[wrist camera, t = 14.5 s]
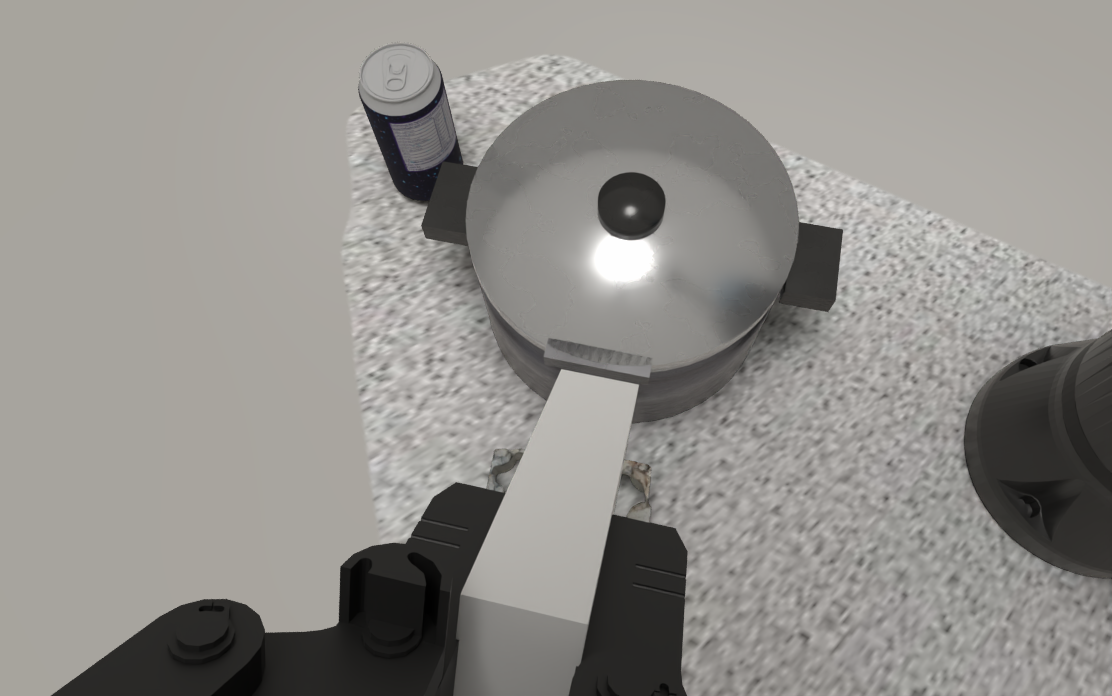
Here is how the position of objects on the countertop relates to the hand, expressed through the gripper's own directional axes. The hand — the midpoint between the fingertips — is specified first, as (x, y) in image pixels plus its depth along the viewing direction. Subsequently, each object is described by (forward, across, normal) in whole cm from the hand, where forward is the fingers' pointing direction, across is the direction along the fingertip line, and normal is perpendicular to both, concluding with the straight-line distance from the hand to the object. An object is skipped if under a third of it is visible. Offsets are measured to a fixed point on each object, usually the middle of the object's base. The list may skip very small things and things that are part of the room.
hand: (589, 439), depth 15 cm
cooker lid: (+35, -2, -4) cm, 35 cm away
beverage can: (+48, -19, -6) cm, 52 cm away
